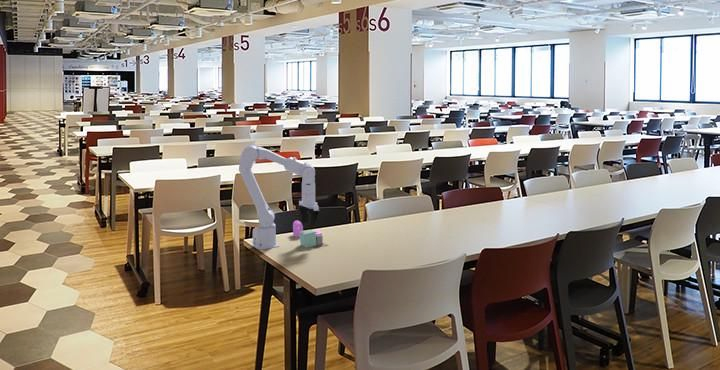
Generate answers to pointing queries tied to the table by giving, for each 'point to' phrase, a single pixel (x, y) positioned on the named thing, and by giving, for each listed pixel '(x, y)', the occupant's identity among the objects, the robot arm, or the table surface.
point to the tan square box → (320, 241)
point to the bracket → (300, 229)
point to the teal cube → (308, 238)
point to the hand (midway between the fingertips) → (308, 224)
